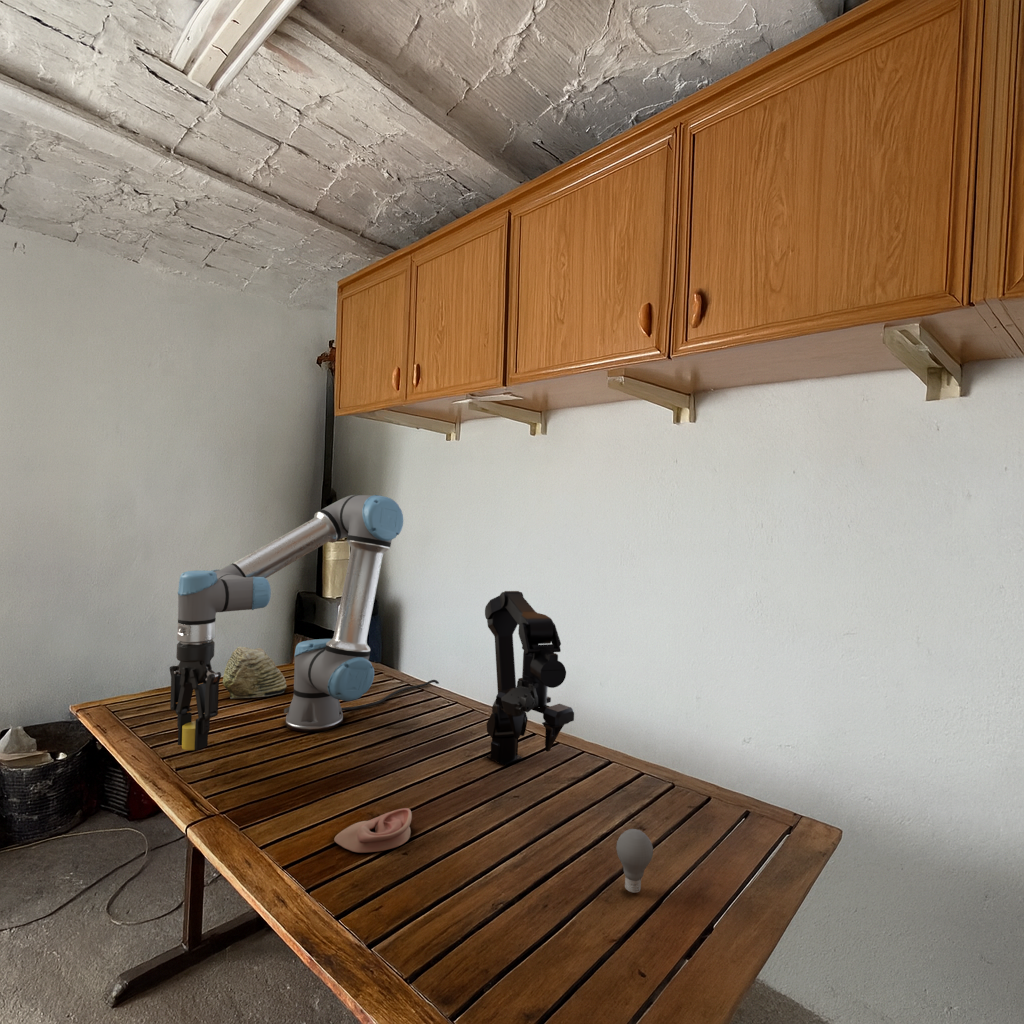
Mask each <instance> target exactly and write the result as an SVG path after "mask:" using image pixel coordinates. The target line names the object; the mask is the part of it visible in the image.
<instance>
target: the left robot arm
mask: <svg viewBox="0 0 1024 1024" xmlns="http://www.w3.org/2000/svg"><path fill="white" fill-rule="evenodd" d="M403 527H404V514H403V511H402V509H401V508H400V506H399V504H398V503H397V501H396V500H394V499H393V498H391V497H388V496H384V495H377V494H351V495H347V496H345V497H342V498H341V499H339V500H337V501H335V502H333V503H331V504H329V505H328V506H326V507H324V508H322V509H320V510H318V511H317V512H315V513H314V515H313V518H312V519H310V520H308V521H306V522H304V523H303V524H301V525H299V526H297V527H295V528H294V529H292V530H290V531H288V532H286V533H284V534H283V535H281V536H279V537H277V538H276V539H274V540H272V541H270V542H268V543H267V544H264V545H263V546H261V547H259V548H257V549H256V550H253V551H252V552H250V553H248V554H247V555H245V556H243V557H241V558H240V559H238V560H236V561H233V563H231V564H228V565H226V566H225V567H223V568H221V569H212V570H206V569H205V570H198V569H197V570H187V571H184V572H182V573H181V574H180V575H179V581H178V590H177V606H178V607H177V635H176V639H177V641H178V642H177V644H176V656H175V658H176V660H177V661H179V662H178V664H175V665H171V666H169V674H170V703H169V705H170V710H171V711H174V712H175V714H176V715H177V718H176V719H177V720H176V721H177V723H176V727H177V746H182V726H183V725H184V724H186V723H189V722H192V721H193V720H192V719H193V717H192V715H193V713H192V712H191V711H192V708H191V702H192V697H193V692H194V693H195V701H196V709H197V716H198V718H195V721H194V722H195V750H194V751H199V750H202V749H204V748H207V747H208V746H209V744H208V743H209V733H210V730H211V729H210V728H211V727H210V724H211V721H210V720H211V718H214V717H217V716H218V714H219V695H220V694H219V692H220V691H219V690H220V681H221V678H222V673H221V672H220V671H218V672H215V671H214V670H212V669H213V667H212V663H211V661H212V659H213V658H214V657H215V647H216V642H215V641H214V639H215V638H216V620H217V619H216V616H217V615H216V614H217V613H227V612H239V611H250V610H251V611H254V610H258V609H263V608H266V607H267V606H268V605H269V604H270V601H271V597H272V596H271V595H272V588H271V585H270V582H269V580H268V579H267V578H269V577H270V576H272V575H274V574H275V573H277V572H279V571H280V570H282V569H284V568H286V567H288V566H289V565H292V563H295V562H296V561H298V560H299V559H301V558H303V557H305V556H306V555H308V554H310V553H311V552H313V551H315V550H317V549H318V548H320V547H322V546H323V545H325V544H327V543H332V544H333V543H336V542H338V541H339V540H342V539H344V538H346V543H347V544H348V545H349V547H350V553H349V558H348V563H347V567H346V572H345V577H344V583H343V588H342V593H341V599H340V602H339V608H338V613H337V618H336V623H335V628H334V633H333V637H332V638H319V639H308V640H303V641H300V642H297V644H296V646H295V650H294V655H293V657H294V672H293V695H292V696H293V697H292V699H291V702H290V704H289V706H288V707H285V708H283V714H284V715H285V714H286V715H285V726H286V728H287V729H289V730H291V731H294V732H295V731H296V732H301V733H316V732H325V731H329V730H332V729H335V728H337V727H339V726H340V725H342V723H343V722H344V714H343V711H344V712H345V711H353V710H359V709H366V708H370V707H374V706H377V705H379V704H382V703H384V702H385V701H387V700H388V699H390V698H391V697H393V696H395V695H397V694H400V693H401V692H405V691H409V690H413V689H418V688H423V687H426V686H428V685H430V684H432V683H435V684H437V685H439V684H440V682H439V681H438V680H436V679H431V680H428V681H426V682H424V683H421V684H416V685H411V686H406V687H403V688H400V689H397V690H394V691H393V692H391V693H389V694H387V695H386V696H384V697H383V698H381V699H380V700H378V701H374V702H371V703H367V704H361V705H354V706H344V707H342V706H341V702H340V701H342V702H353V701H357V700H358V699H360V698H361V697H362V696H364V694H366V693H367V692H368V691H369V690H370V689H371V688H372V687H371V686H372V685H373V682H374V679H375V668H374V666H373V664H372V662H371V661H370V655H371V647H370V646H369V645H368V643H367V640H368V635H369V631H370V630H369V629H370V624H371V619H372V614H373V609H374V605H375V604H374V603H375V598H376V594H377V589H378V583H379V578H380V574H381V569H382V568H381V567H382V563H383V558H384V557H383V556H384V554H385V553H386V552H387V551H389V550H390V549H391V545H392V541H393V540H394V539H396V538H397V536H399V535H400V533H401V531H402V530H403Z"/></svg>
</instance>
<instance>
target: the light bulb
mask: <svg viewBox="0 0 1024 1024" xmlns="http://www.w3.org/2000/svg"><path fill="white" fill-rule="evenodd" d="M615 849H616V854H617V857H618V859H619V861H620V863H621V865H622V867H623V873H624V874H623V875H624V876H625V878H624V888H625V890H627V891H628V892H630V893H634V894H635V893H639V892H640V891H641V889H642V887H641V886H642V879H643V877H644V875H645V871H646V868H647V867H648V866H649V864H650V863H651V861H652V859H653V855H654V847H653V843H652V841H651V838H649V836H648V835H647V834H646V833H645V832H643V831H642V830H641V829H636V828H629V829H627V830H625V831H623V832H622V833H621V834H620V835H619V837H618V839H617V841H616V847H615Z"/></svg>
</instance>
